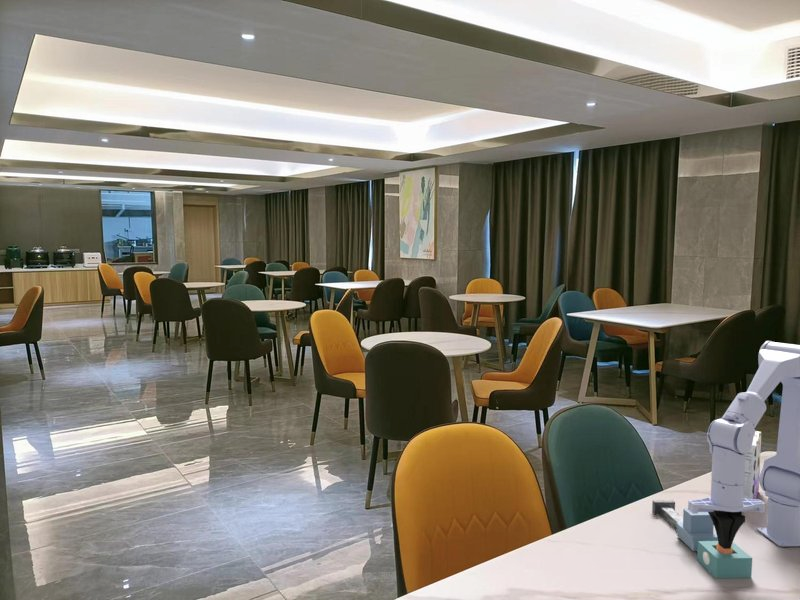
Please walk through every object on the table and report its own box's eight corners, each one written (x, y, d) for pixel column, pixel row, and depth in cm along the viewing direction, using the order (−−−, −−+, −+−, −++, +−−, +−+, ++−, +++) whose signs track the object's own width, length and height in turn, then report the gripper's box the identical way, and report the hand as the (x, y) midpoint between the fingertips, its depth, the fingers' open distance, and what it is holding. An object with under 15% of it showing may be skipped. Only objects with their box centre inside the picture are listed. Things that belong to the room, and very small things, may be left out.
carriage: (702, 535, 134) (703, 504, 134) (719, 550, 127) (721, 518, 127) (675, 535, 134) (677, 505, 134) (692, 551, 127) (693, 519, 127)
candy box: (734, 486, 163) (737, 427, 162) (759, 491, 160) (762, 431, 158) (726, 504, 152) (729, 440, 150) (753, 510, 148) (756, 444, 147)
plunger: (726, 561, 122) (727, 542, 122) (734, 568, 119) (735, 549, 119) (712, 561, 122) (713, 542, 122) (720, 569, 119) (721, 549, 119)
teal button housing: (730, 559, 124) (731, 540, 124) (751, 577, 118) (752, 557, 117) (696, 559, 124) (697, 541, 124) (715, 578, 117) (716, 558, 117)
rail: (672, 511, 147) (672, 500, 147) (721, 555, 126) (722, 541, 126) (652, 512, 147) (652, 500, 147) (698, 556, 126) (698, 542, 126)
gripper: (750, 472, 124) (747, 536, 125) (681, 473, 123) (678, 537, 124) (773, 485, 117) (769, 553, 118) (699, 486, 116) (697, 554, 117)
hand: (724, 546), depth 120 cm, fingers closed, pressing on plunger
